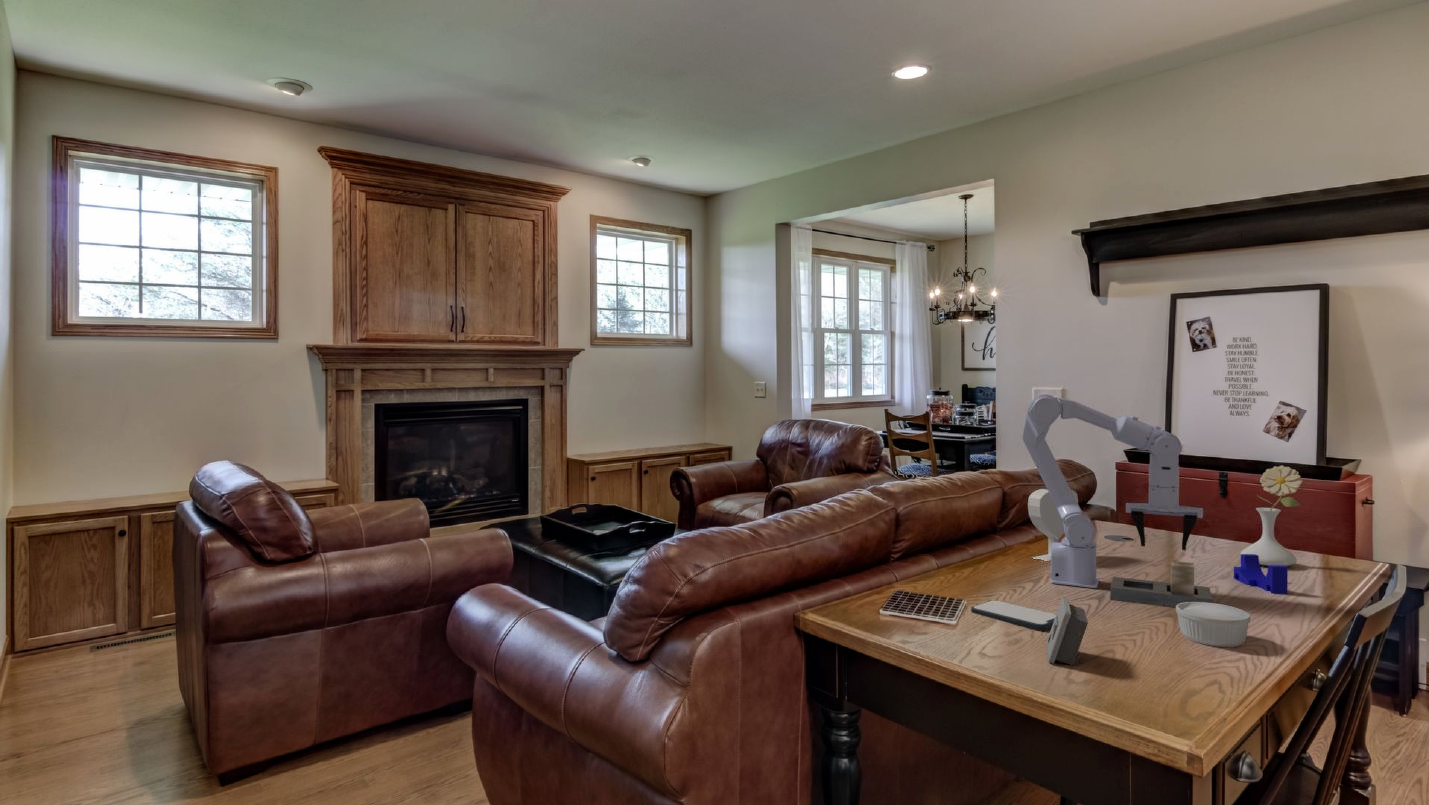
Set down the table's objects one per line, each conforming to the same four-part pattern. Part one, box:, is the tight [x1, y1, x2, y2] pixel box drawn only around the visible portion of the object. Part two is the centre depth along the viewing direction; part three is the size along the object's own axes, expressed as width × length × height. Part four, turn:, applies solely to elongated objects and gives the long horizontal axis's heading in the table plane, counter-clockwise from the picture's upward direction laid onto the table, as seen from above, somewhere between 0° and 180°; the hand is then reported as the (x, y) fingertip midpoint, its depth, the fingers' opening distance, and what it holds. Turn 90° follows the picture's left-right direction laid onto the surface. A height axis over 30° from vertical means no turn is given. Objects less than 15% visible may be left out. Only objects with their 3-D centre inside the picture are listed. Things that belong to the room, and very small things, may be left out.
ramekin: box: [1175, 602, 1251, 648], centre depth 134 cm, size 11×11×5 cm
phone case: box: [970, 600, 1057, 632], centre depth 147 cm, size 9×2×16 cm
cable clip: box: [1233, 553, 1289, 595], centre depth 167 cm, size 12×4×6 cm, turn 172°
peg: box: [1170, 560, 1195, 595], centre depth 156 cm, size 4×4×8 cm
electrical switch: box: [1046, 597, 1089, 666], centre depth 126 cm, size 9×5×9 cm, turn 158°
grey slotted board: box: [1110, 576, 1213, 608], centre depth 158 cm, size 18×10×2 cm, turn 59°
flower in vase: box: [1239, 465, 1303, 567], centre depth 185 cm, size 13×11×25 cm
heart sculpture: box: [1027, 488, 1079, 561], centre depth 196 cm, size 16×5×18 cm, turn 119°
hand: (1163, 547), depth 164 cm, fingers open, 7 cm apart
